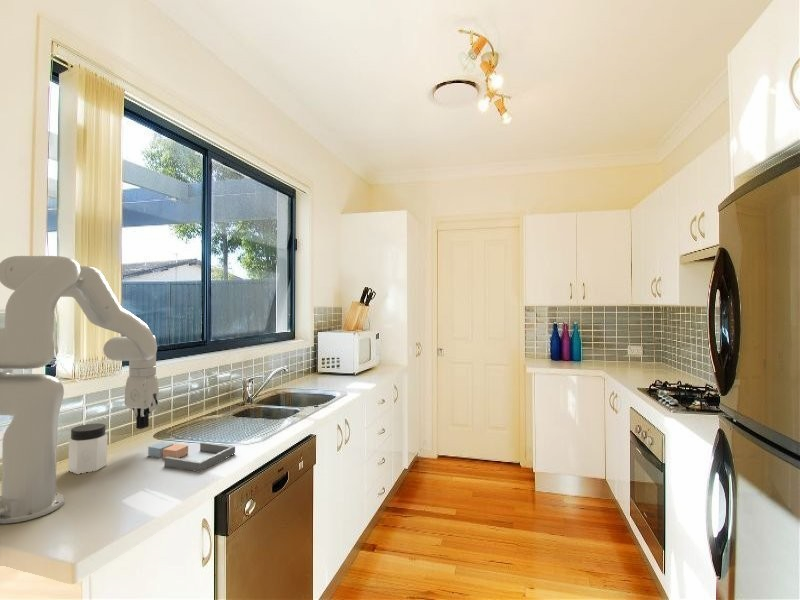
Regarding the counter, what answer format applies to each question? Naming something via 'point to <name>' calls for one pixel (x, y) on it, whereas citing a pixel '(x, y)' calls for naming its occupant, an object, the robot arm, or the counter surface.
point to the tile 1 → (158, 449)
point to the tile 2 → (175, 451)
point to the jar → (87, 448)
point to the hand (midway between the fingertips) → (142, 427)
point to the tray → (221, 454)
